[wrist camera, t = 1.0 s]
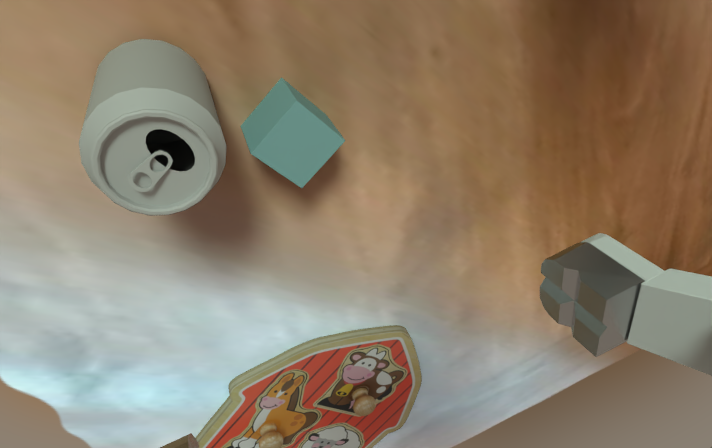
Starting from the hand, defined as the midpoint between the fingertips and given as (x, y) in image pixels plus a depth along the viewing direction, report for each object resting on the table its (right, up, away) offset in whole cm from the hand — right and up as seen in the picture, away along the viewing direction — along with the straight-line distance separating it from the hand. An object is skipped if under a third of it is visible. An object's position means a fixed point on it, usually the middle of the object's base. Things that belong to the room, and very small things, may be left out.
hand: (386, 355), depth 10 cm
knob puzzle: (-5, -20, +53) cm, 57 cm away
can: (-15, +12, +24) cm, 31 cm away
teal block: (-6, +11, +29) cm, 32 cm away
